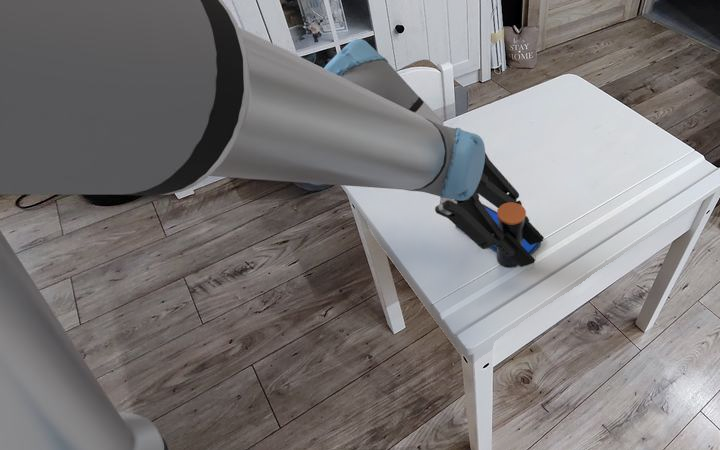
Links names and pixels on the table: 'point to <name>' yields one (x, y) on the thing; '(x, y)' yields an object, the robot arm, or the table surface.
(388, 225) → the table surface
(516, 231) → the orange-topped grey cylinder
